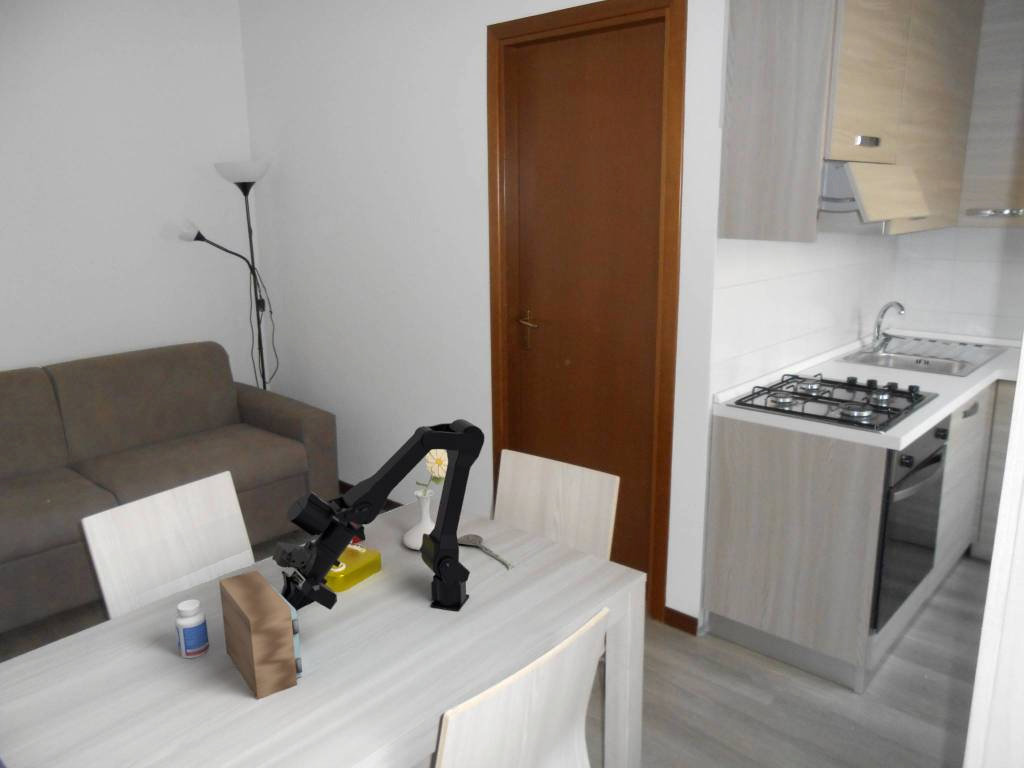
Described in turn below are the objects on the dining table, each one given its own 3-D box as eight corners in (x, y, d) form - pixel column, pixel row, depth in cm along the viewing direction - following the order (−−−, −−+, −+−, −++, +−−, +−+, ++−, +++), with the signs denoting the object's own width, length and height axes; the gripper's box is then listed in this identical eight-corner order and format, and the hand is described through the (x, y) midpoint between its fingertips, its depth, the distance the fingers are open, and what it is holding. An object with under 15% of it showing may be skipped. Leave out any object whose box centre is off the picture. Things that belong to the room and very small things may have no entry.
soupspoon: (472, 539, 202) (450, 546, 198) (471, 526, 201) (449, 534, 197) (523, 567, 184) (499, 576, 180) (522, 553, 183) (498, 562, 180)
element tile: (385, 569, 184) (384, 550, 183) (339, 595, 172) (338, 575, 171) (338, 555, 192) (337, 536, 191) (291, 579, 180) (289, 560, 179)
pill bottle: (215, 646, 152) (210, 600, 150) (196, 661, 147) (190, 613, 145) (192, 641, 154) (187, 595, 152) (172, 656, 149) (166, 609, 147)
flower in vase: (412, 558, 189) (408, 458, 183) (396, 541, 198) (392, 445, 193) (462, 547, 194) (459, 450, 189) (444, 530, 204) (441, 438, 199)
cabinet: (263, 640, 154) (256, 569, 150) (297, 685, 139) (290, 607, 136) (226, 652, 150) (219, 580, 146) (257, 699, 135) (250, 620, 132)
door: (310, 676, 141) (305, 610, 138) (297, 681, 140) (292, 614, 137) (279, 640, 153) (274, 579, 150) (267, 644, 152) (261, 582, 149)
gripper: (280, 511, 155) (229, 578, 152) (315, 545, 140) (259, 620, 137) (322, 537, 161) (274, 603, 158) (359, 572, 146) (307, 645, 143)
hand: (277, 616), depth 149 cm, fingers closed, pressing on door
